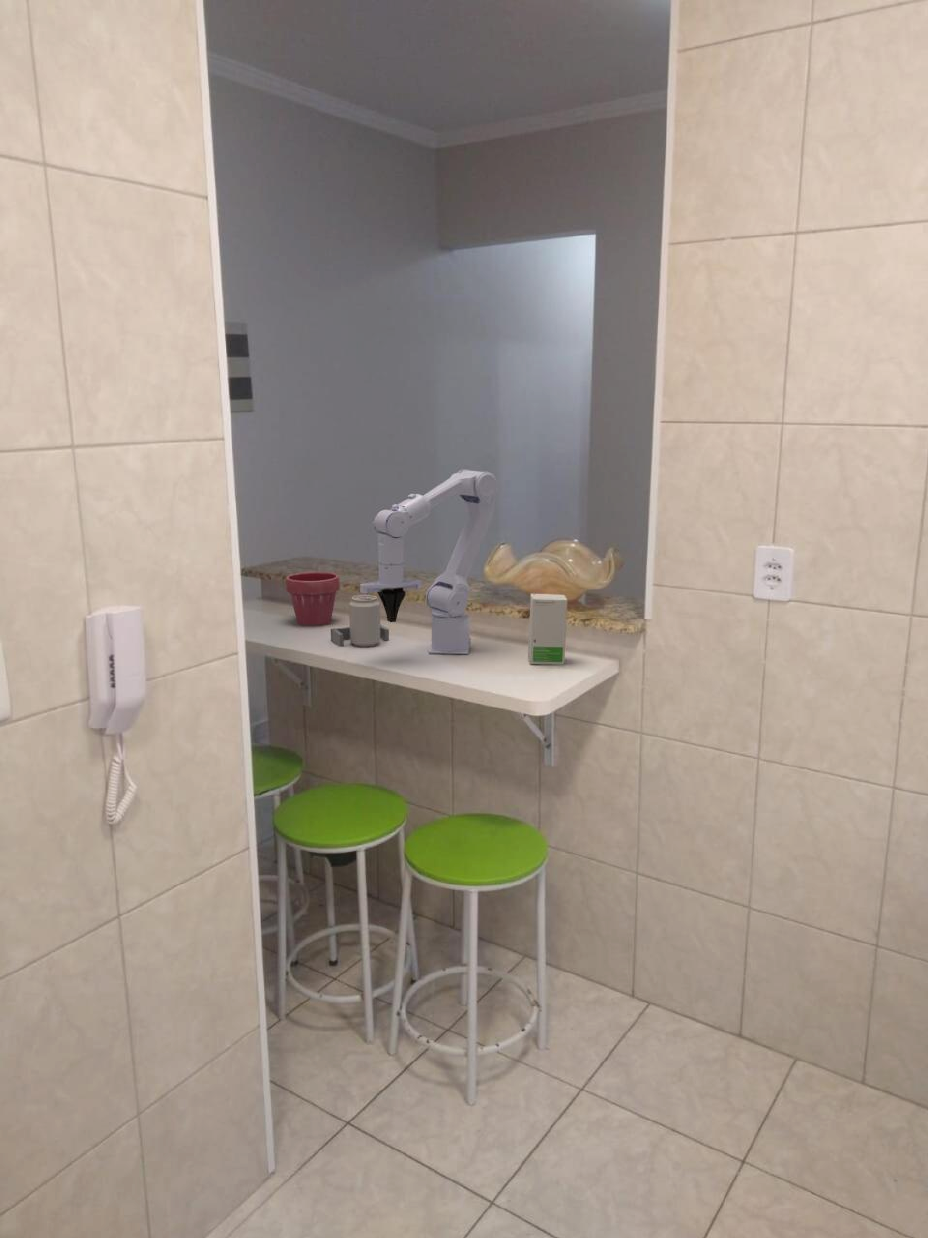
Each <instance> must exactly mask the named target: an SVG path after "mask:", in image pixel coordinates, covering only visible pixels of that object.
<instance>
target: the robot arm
mask: <svg viewBox="0 0 928 1238" xmlns="http://www.w3.org/2000/svg"><path fill="white" fill-rule="evenodd" d="M499 490H500V486H499V483H498V481H497V478H496V476H495V475H494V474H493V473H492V472H489V471H478V470H469V469H467V468H466V469H461V470H459V471H458V472H455V473H453V474H452V475H451V476H450V477H449V478H448V479H446V480H445V481H443V482H442V483H440V484H439V485H437V486H435V487H434V488H433V489H431V490H430V491H427V493H425V494H423V495H422V494H420V493H410V494H409V495H407V499H405V500H403V501H401V502H400V503H398V504H396V503H394V504H392V505H391V508H390V509H383V510H381V511H379V512H377V514H376V516H375V518H374V521H373V522H372V528H373V530H374V532H375V533H376V536H377V537H376V538H377V545H378V546H377V548H378V549H377V553H378V555H377V557H378V580H377V581H371V582H366V583H365V582H364V583H360V584H359V589H360V593H361V594H362V595H367V594H368V593H377V595H378V597H379V599H380V601H381V602H382V605H383V609H384V611H385V616H386V621H387V622H389V623H396V622H397V618H398V614H399V610H400V607H401V605H402V603H403V601H404V599H405V598H406V591H405V590H410V589H423V582H422V579H420V578H412V579H411V578H408V579H406V578H405V577H404V574H405V573H404V568H405V567H404V536H405V535H406V534H407V532H408V530H409V528H410V527H412V526H414V525H415V524H417V523H419V522H420V521H422V520H423V519H425V518H427V517H428V516H430V513H431V509H432V508H434V507H436V506H438V505H439V504H442V503H444V502H446V501H448V500H449V499H453V497H456V496H459V497H460V499H461V500H462V501H463V503H464V504H465V505H466V508H467V509H468V511H469V513H468V515H467V519H466V520H465V523H464V525H463V528H462V530H461V532H460V535H459V538H458V540H457V542H456V545H455V547H454V550H453V552H452V554H451V557H450V559H449V561H448V563H447V567H446V569H445V571H444V572H443V573H441V574H440V575H438V576H437V577H436V578H435V580H434V582H433V584H432V585H431V586H430V587H429V588H428V589H427V591H426V593H425V602H426V605H427V606H428V608H430V613H431V644H430V647H429V649H428V653H429V654H442V655H443V654H445V655H446V654H450V655H451V654H452V655H453V654H454V655H457V654H458V655H460V654H461V655H468V654H469V652H470V648H471V647H470V646H471V644H472V640H471V639H472V638H471V633H470V631H471V617H470V614H463V613H464V612H465V611H466V609H467V608H468V607H467V606H468V603H469V594H470V592H471V588H470V586H469V584H468V581H467V579H468V577H469V575H470V573H471V569H472V568H473V565H474V562H475V560H476V557H477V555H478V552H479V550H480V548H481V545H482V543H483V541H484V539H485V536H486V533H487V531H488V528H489V526H490V524H491V521H492V519H493V516H494V514H495V513H494V512H495V505H496V504H495V502H496V501H495V500H496V497H497V494H498V492H499Z"/></svg>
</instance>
